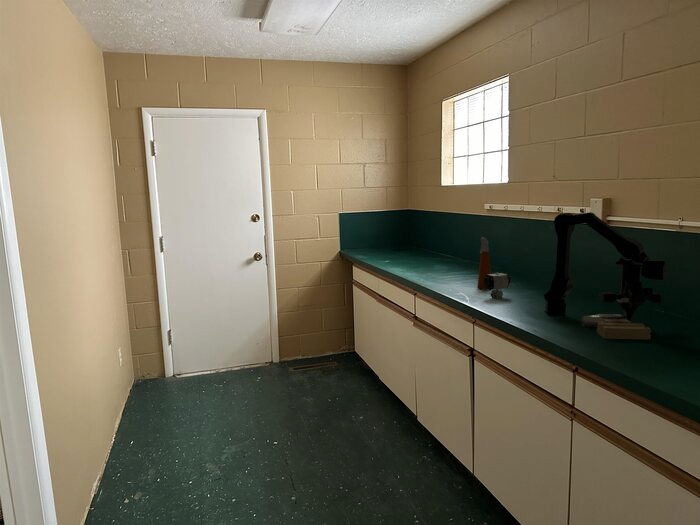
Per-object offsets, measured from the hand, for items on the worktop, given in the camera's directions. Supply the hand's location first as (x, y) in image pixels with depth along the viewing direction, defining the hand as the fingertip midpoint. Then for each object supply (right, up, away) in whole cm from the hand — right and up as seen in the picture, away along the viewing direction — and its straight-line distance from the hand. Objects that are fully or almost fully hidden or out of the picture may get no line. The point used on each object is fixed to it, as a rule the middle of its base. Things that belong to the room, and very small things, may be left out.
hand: (628, 320), depth 171 cm
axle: (-8, 0, +1) cm, 8 cm away
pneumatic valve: (-32, +4, +49) cm, 58 cm away
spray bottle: (-33, +7, +69) cm, 76 cm away
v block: (-8, -4, -10) cm, 14 cm away
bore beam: (-5, -2, +1) cm, 5 cm away
